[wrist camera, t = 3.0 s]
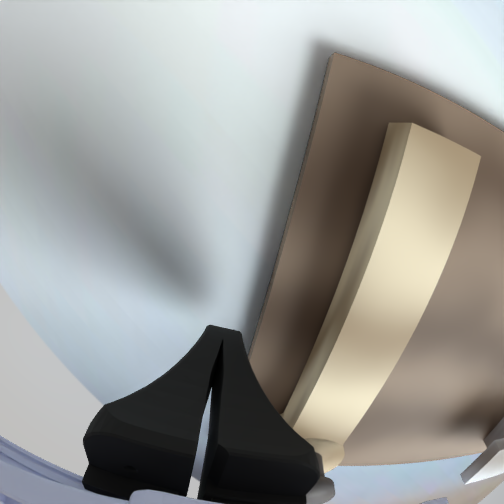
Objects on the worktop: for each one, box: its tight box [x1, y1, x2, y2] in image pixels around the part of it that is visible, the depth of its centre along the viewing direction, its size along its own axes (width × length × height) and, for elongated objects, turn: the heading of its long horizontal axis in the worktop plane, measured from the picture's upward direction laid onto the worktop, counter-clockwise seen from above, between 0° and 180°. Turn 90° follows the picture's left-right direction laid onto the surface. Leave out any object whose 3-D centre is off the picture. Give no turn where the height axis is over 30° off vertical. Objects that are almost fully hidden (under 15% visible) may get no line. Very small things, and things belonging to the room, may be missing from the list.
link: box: [280, 123, 481, 504], centre depth 12 cm, size 18×4×4 cm, turn 167°
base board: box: [248, 52, 504, 484], centre depth 13 cm, size 22×25×5 cm
